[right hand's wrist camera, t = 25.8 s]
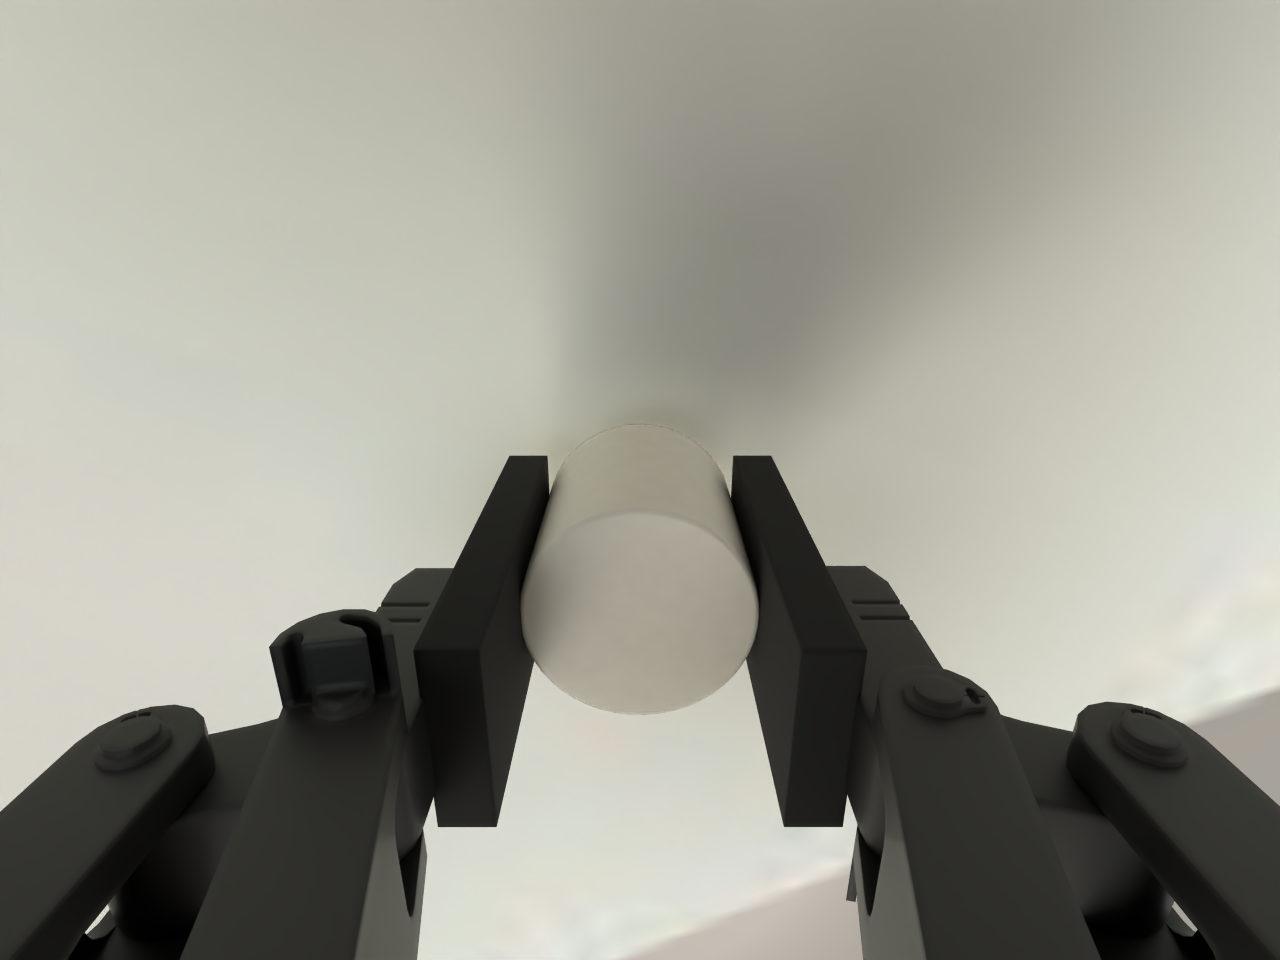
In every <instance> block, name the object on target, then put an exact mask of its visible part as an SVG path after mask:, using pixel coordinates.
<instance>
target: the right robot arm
mask: <svg viewBox="0 0 1280 960" xmlns="http://www.w3.org/2000/svg"><path fill="white" fill-rule="evenodd" d="M548 499H549V477H548V458H547V456H509V458H508V460H507V462H506V464H505V466H504V468H503V470H502V472H501V474H500V476H499V478H498V480H497V482H496V484H495V486H494V488H493V490H492V492H491V494H490V496H489V498H488V500H487V502H486V504H485V506H484V508H483V510H482V512H481V514H480V516H479V518H478V520H477V522H476V524H475V526H474V529H473V531H472V533H471V535H470V537H469V539H468V541H467V543H466V545H465V547H464V549H463V551H462V553H461V555H460V557H459V559H458V561H457V563H456V565H455V567H454V568H416V569H414V570H413V571H411V572H410V573H409V574H407V575H406V576H404V577H403V578H402V579H400V580H399V581H397V582H396V583H394V584H393V585H392V587H391V589H390V590H389V592H388V593H387V595H386V596H385V598H384V600H383V601H382V603H381V607H379V608H378V609H377V611H376V612H372V611H368V610H365V609H343V610H337V611H332V612H327V613H322V614H318V615H316V616H313V617H310V618H308V619H305V620H303V621H300V622H298V623H296V624H295V625H293V626H291V627H290V628H288V629H287V630H285V631H284V632H282V633H281V634H280V635H279V636H278V637H277V638H276V639H275V641H274V642H273V643H272V644H271V645H270V647H269V649H270V653H271V658H272V662H273V666H274V671H275V675H276V679H277V684H278V688H279V692H280V697H281V701H282V705H283V709H282V711H281V713H280V716H279V718H278V719H275V720H271V721H267V722H264V723H260V724H256V725H252V726H247V727H242V728H238V729H233V730H228V731H224V732H219V733H214V734H210V735H208V731H207V727H206V724H205V720H204V717H203V716H201V715H200V714H199V713H198V712H197V711H196V710H195V709H193V708H189V707H184V706H179V705H166V706H155V707H149V708H145V709H140V710H138V711H133V712H130V713H127V714H124V715H122V716H120V717H118V718H116V719H114V720H112V721H110V722H108V723H106V724H103V725H101V726H99V727H97V728H96V729H95V730H93V731H92V732H90V733H89V734H88V735H86V736H85V737H84V738H82V739H81V740H79V741H78V742H77V743H75V744H74V745H73V746H72V747H71V748H70V749H69V750H68V751H67V752H65V753H64V754H63V755H62V756H61V757H60V758H59V759H58V760H57V761H56V762H54V763H53V764H52V765H51V766H50V767H49V768H48V769H47V770H46V771H45V772H43V773H42V774H41V775H40V776H39V777H38V778H37V779H36V780H35V781H34V782H32V783H31V784H30V785H29V786H28V787H27V788H26V789H25V790H24V791H23V792H22V793H20V794H19V795H18V796H17V797H16V798H15V799H14V800H13V801H12V802H11V803H9V804H8V805H7V806H6V807H5V808H4V809H3V810H2V811H1V812H0V960H417V953H418V943H419V933H420V923H421V913H422V903H423V893H424V883H425V873H426V863H427V852H426V845H425V839H424V832H423V826H424V823H425V820H426V818H427V815H428V812H429V809H430V806H431V803H432V800H433V797H434V802H435V809H436V816H437V823H438V827H497V823H498V818H499V814H500V810H501V805H502V801H503V796H504V792H505V787H506V783H507V779H508V774H509V770H510V765H511V761H512V757H513V752H514V748H515V743H516V739H517V734H518V730H519V726H520V721H521V717H522V712H523V708H524V703H525V699H526V695H527V690H528V686H529V681H530V677H531V673H532V668H533V664H534V660H533V658H532V656H531V654H530V652H529V650H528V648H527V646H526V643H525V640H524V638H523V633H522V624H521V610H520V593H521V590H522V586H523V582H524V579H525V575H526V572H527V569H528V565H529V562H530V559H531V555H532V552H533V549H534V545H535V542H536V539H537V535H538V532H539V529H540V526H541V522H542V519H543V516H544V512H545V509H546V506H547V502H548ZM731 501H732V504H733V508H734V511H735V515H736V518H737V522H738V525H739V528H740V532H741V535H742V539H743V542H744V545H745V549H746V552H747V556H748V559H749V563H750V566H751V569H752V573H753V576H754V580H755V583H756V587H757V592H758V597H759V623H758V629H757V633H756V637H755V640H754V642H753V645H752V647H751V650H750V652H749V654H748V655H747V657H746V661H747V665H748V670H749V674H750V679H751V683H752V687H753V692H754V696H755V701H756V705H757V710H758V714H759V718H760V723H761V727H762V732H763V736H764V740H765V745H766V749H767V754H768V758H769V763H770V767H771V771H772V776H773V780H774V785H775V789H776V794H777V798H778V802H779V807H780V811H781V816H782V820H783V825H784V827H843V820H844V813H845V806H846V799H847V795H848V798H849V800H850V803H851V806H852V809H853V812H854V815H855V818H856V821H857V824H858V825H857V832H856V839H855V845H854V852H853V858H852V865H851V871H850V878H849V885H848V891H847V898H846V900H848V901H854V902H855V901H856V896H857V902H858V912H859V922H860V932H861V942H862V951H863V960H1280V806H1279V805H1278V804H1277V803H1275V802H1274V801H1273V800H1272V799H1271V798H1270V797H1269V796H1268V795H1267V794H1266V793H1264V792H1263V791H1262V790H1261V789H1260V788H1259V787H1258V786H1257V785H1256V784H1254V783H1253V782H1252V781H1251V780H1250V779H1249V778H1248V777H1247V776H1246V775H1244V774H1243V773H1242V772H1241V771H1240V770H1239V769H1238V768H1237V767H1236V766H1234V765H1233V764H1232V763H1231V762H1230V761H1229V760H1228V759H1227V758H1226V757H1225V756H1223V755H1222V754H1221V753H1220V752H1219V751H1218V750H1217V749H1216V748H1215V747H1213V746H1212V745H1211V744H1210V743H1209V742H1208V741H1207V740H1205V739H1204V738H1203V737H1201V736H1200V735H1198V734H1197V733H1196V732H1194V731H1193V730H1192V729H1190V728H1189V727H1187V726H1186V725H1185V724H1183V723H1181V722H1179V721H1176V720H1174V719H1172V718H1170V717H1168V716H1166V715H1164V714H1162V713H1160V712H1158V711H1155V710H1152V709H1149V708H1144V707H1142V706H1137V705H1133V704H1127V703H1116V702H1103V703H1098V704H1092V705H1088V706H1087V707H1086V708H1085V709H1084V710H1082V711H1081V712H1080V713H1079V714H1078V716H1077V720H1076V723H1075V727H1074V730H1073V732H1071V731H1067V730H1062V729H1057V728H1052V727H1048V726H1043V725H1038V724H1034V723H1029V722H1024V721H1020V720H1017V719H1013V718H1010V717H1006V716H1003V715H1001V714H1000V712H999V710H998V707H997V706H996V704H995V703H994V701H993V700H992V699H991V697H990V696H989V694H988V693H987V692H986V691H985V690H983V689H982V688H981V687H979V686H978V685H977V684H975V683H974V682H973V681H971V680H970V679H968V678H965V677H963V676H961V675H959V674H956V673H954V672H952V671H949V670H946V669H943V668H942V666H941V665H940V663H939V662H938V660H937V659H936V657H935V655H934V654H933V652H932V651H931V649H930V648H929V646H928V644H927V643H926V641H925V640H924V638H923V637H922V635H921V633H920V632H919V630H918V629H917V627H916V625H915V624H914V622H913V621H912V620H910V616H909V614H908V613H907V611H906V610H905V608H904V607H903V605H902V604H900V600H899V599H898V597H897V596H896V594H895V592H894V591H893V589H892V588H891V586H890V585H889V583H888V582H887V581H886V580H884V579H883V578H881V577H880V576H878V575H877V574H876V573H874V572H873V571H871V570H870V569H868V568H867V567H866V566H826V565H825V563H824V561H823V559H822V557H821V555H820V553H819V551H818V549H817V547H816V545H815V543H814V541H813V539H812V537H811V535H810V533H809V531H808V529H807V527H806V525H805V523H804V521H803V519H802V517H801V515H800V513H799V511H798V509H797V507H796V505H795V503H794V501H793V499H792V497H791V495H790V493H789V491H788V489H787V487H786V485H785V483H784V481H783V479H782V477H781V475H780V473H779V471H778V469H777V467H776V465H775V463H774V461H773V459H772V457H771V456H733V471H732V490H731ZM1174 901H1175V902H1176V903H1177V904H1178V906H1179V907H1180V908H1181V909H1182V910H1183V912H1184V913H1185V914H1186V915H1187V917H1188V918H1189V919H1190V920H1191V922H1192V923H1193V924H1194V925H1195V927H1196V928H1197V929H1198V930H1197V931H1196V932H1195V931H1193V930H1192V929H1191V928H1190V927H1189V926H1188V925H1187V924H1186V923H1185V922H1184V921H1183V920H1182V919H1181V918H1180V916H1179V915H1178V914H1177V913H1176V911H1175V910H1174V909H1173V908H1172V905H1173V903H1174ZM107 904H108V906H109V908H110V910H109V911H108V912H107V914H106V915H105V916H104V917H103V919H102V920H101V921H100V922H99V924H97V925H96V926H95V927H94V928H93V929H92V930H91V931H90V932H89V933H88V934H87V935H86V934H85V931H86V930H87V929H88V928H89V926H90V925H91V924H92V923H93V922H94V920H95V919H96V918H97V917H98V915H99V914H100V913H101V912H102V910H103V909H104V908H105V907H106V905H107Z"/></svg>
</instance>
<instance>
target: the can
mask: <svg viewBox="0 0 1280 960" xmlns="http://www.w3.org/2000/svg"><path fill="white" fill-rule="evenodd" d="M520 610H521V624H522V633H523V638H524V640H525V643H526V646H527V648H528V650H529V652H530V654H531V656H532V658H533V660H534V661H535V663H536V664H537V665H538V667H539V668H540V670H541V671H542V672H543V673H544V674H545V675H546V676H547V677H548V679H549V680H550V681H551V682H553V683H554V684H555V685H556V686H557V687H559V688H560V689H561V690H562V691H564V692H565V693H567V694H568V695H570V696H572V697H573V698H575V699H577V700H579V701H581V702H583V703H585V704H587V705H590V706H593V707H596V708H599V709H602V710H606V711H610V712H615V713H622V714H635V715H646V714H658V713H663V712H669V711H673V710H677V709H680V708H683V707H686V706H689V705H691V704H693V703H696V702H698V701H700V700H702V699H704V698H705V697H707V696H709V695H711V694H712V693H714V692H715V691H716V690H718V689H719V688H720V687H722V686H723V685H724V684H725V683H726V682H727V681H728V680H729V679H730V678H731V677H732V676H733V675H734V674H735V673H736V672H737V670H738V669H739V668H740V667H741V665H742V664H743V662H744V660H745V659H746V657H747V655H748V654H749V652H750V650H751V647H752V645H753V642H754V640H755V637H756V633H757V629H758V623H759V597H758V592H757V587H756V583H755V580H754V576H753V573H752V569H751V566H750V563H749V559H748V556H747V552H746V549H745V545H744V542H743V539H742V535H741V532H740V528H739V525H738V522H737V518H736V515H735V511H734V508H733V504H732V501H731V498H730V494H729V491H728V487H727V484H726V482H725V479H724V476H723V474H722V472H721V470H720V468H719V467H718V465H717V464H716V462H715V461H714V459H713V458H712V457H711V456H710V455H709V454H708V452H707V451H706V450H705V449H704V448H703V447H701V446H700V445H699V444H697V443H696V442H695V441H694V440H692V439H690V438H688V437H687V436H685V435H683V434H681V433H679V432H676V431H674V430H671V429H668V428H664V427H661V426H654V425H644V424H634V425H624V426H620V427H615V428H611V429H608V430H606V431H603V432H600V433H598V434H596V435H595V436H593V437H591V438H589V439H588V440H586V441H585V442H583V443H582V444H580V445H579V446H578V447H577V448H576V449H575V450H574V451H573V452H572V453H571V454H570V455H569V456H568V458H567V459H566V460H565V461H564V463H563V464H562V466H561V468H560V469H559V471H558V473H557V475H556V478H555V480H554V482H553V486H552V489H551V492H550V496H549V499H548V502H547V506H546V509H545V512H544V516H543V519H542V522H541V526H540V529H539V532H538V535H537V539H536V542H535V545H534V549H533V552H532V555H531V559H530V562H529V565H528V569H527V572H526V575H525V579H524V582H523V586H522V590H521V593H520Z"/></svg>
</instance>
